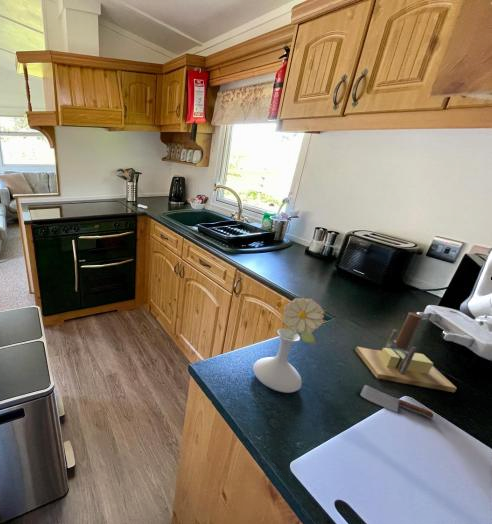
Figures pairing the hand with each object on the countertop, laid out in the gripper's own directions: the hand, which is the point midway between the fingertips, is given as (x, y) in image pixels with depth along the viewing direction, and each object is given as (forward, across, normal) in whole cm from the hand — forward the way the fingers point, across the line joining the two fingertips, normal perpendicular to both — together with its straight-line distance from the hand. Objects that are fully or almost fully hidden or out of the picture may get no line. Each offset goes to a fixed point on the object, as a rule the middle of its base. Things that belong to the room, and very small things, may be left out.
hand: (429, 324), depth 75 cm
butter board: (+1, 0, +15) cm, 15 cm away
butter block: (0, 0, +14) cm, 14 cm away
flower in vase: (+38, +15, +15) cm, 43 cm away
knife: (+4, 0, +14) cm, 14 cm away
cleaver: (+11, +15, +15) cm, 24 cm away
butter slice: (+5, 0, +14) cm, 15 cm away
